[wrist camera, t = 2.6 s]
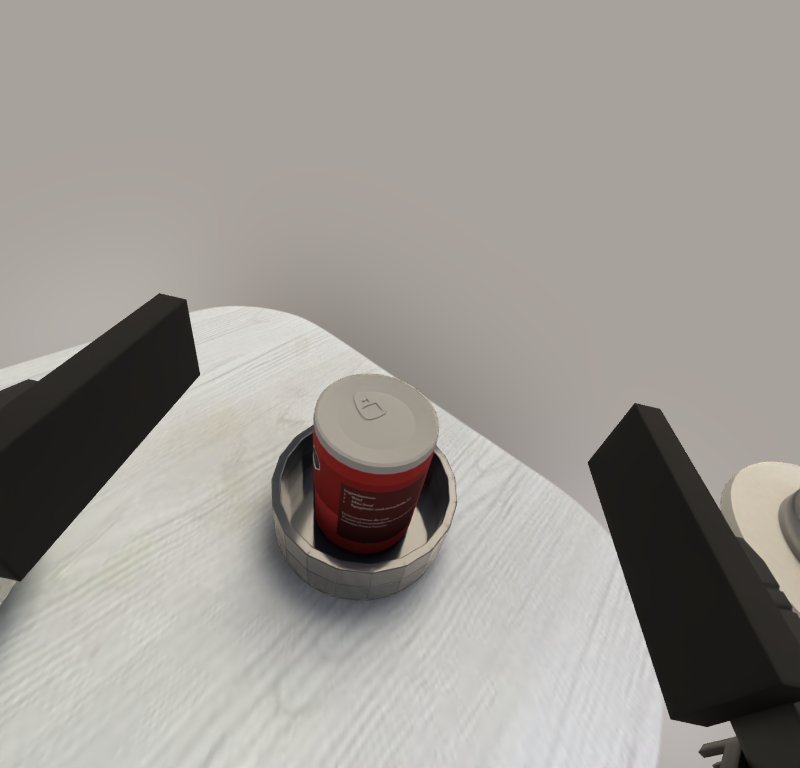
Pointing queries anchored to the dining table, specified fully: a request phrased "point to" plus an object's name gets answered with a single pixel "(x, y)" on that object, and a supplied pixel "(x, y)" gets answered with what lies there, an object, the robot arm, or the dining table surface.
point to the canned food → (370, 460)
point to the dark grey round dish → (344, 569)
